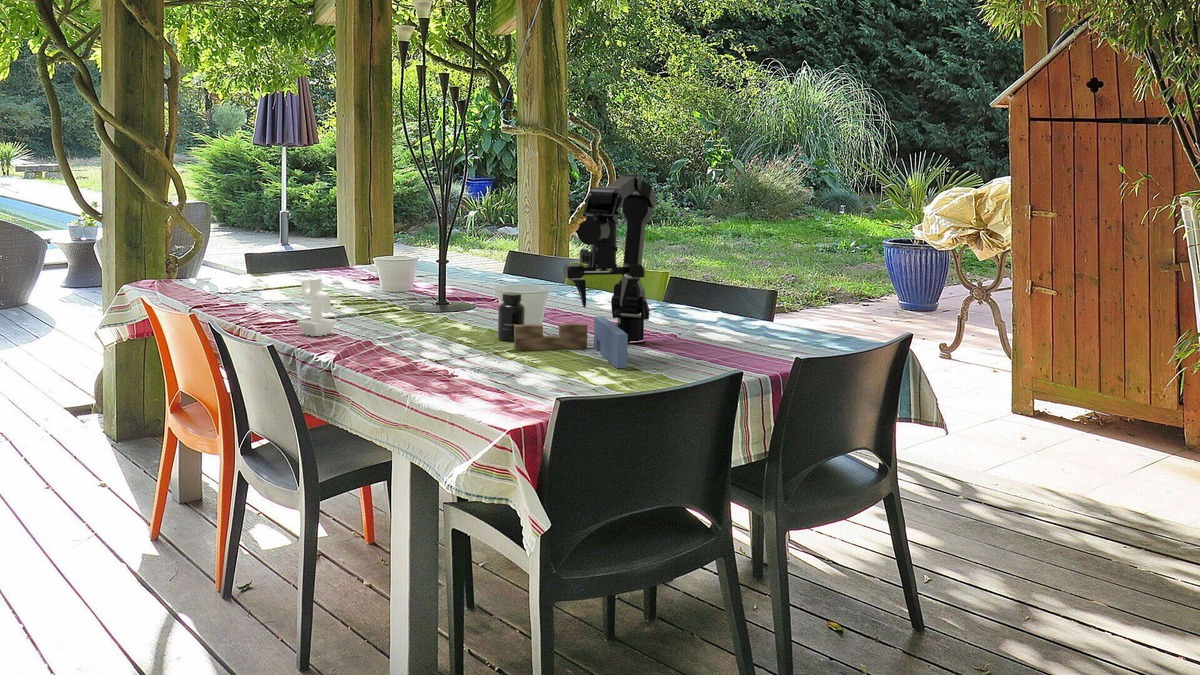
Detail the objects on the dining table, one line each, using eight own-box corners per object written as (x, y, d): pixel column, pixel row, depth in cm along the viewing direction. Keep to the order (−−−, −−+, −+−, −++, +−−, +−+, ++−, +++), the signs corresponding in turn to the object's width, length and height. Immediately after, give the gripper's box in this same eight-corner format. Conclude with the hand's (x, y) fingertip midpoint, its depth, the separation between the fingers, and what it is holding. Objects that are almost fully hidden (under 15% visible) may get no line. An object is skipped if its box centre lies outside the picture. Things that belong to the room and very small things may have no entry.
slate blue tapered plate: (593, 348, 260) (594, 316, 259) (603, 348, 261) (603, 316, 259) (616, 369, 237) (617, 334, 236) (626, 368, 238) (627, 334, 236)
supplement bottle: (506, 343, 265) (506, 296, 263) (493, 338, 270) (493, 293, 268) (529, 340, 269) (529, 294, 267) (515, 336, 274) (515, 291, 272)
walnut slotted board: (584, 346, 262) (585, 323, 261) (587, 348, 260) (587, 324, 259) (514, 348, 258) (514, 324, 257) (515, 350, 256) (515, 326, 255)
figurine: (318, 339, 265) (316, 280, 263) (294, 334, 271) (292, 277, 268) (340, 335, 271) (338, 277, 268) (316, 330, 277) (314, 274, 274)
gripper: (633, 237, 255) (631, 301, 258) (558, 238, 250) (557, 302, 253) (646, 242, 244) (644, 308, 247) (568, 242, 240) (567, 309, 243)
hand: (603, 306), depth 248 cm, fingers open, 9 cm apart
